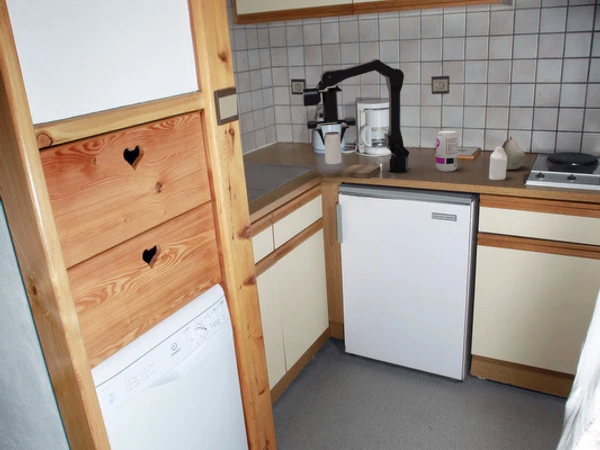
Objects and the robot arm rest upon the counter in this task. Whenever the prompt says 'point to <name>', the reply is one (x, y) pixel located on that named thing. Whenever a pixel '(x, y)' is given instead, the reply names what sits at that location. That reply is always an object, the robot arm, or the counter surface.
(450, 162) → the supplement can
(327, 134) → the can
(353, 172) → the base
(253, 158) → the counter surface
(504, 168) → the white bottle
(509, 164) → the fruit
